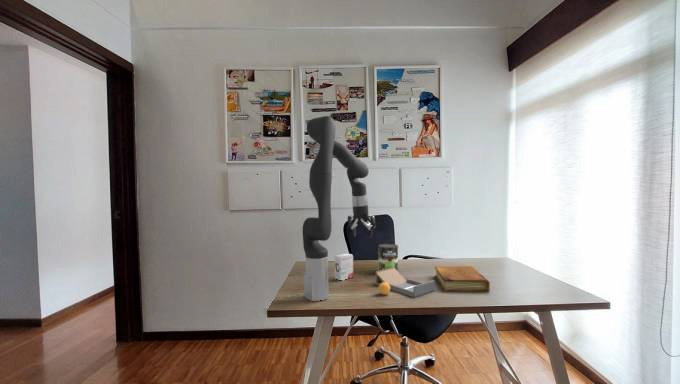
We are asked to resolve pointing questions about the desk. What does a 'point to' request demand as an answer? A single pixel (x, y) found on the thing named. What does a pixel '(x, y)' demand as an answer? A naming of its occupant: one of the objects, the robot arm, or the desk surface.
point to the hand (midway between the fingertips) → (362, 236)
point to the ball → (384, 288)
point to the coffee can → (388, 256)
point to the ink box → (343, 266)
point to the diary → (461, 279)
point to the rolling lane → (403, 283)
